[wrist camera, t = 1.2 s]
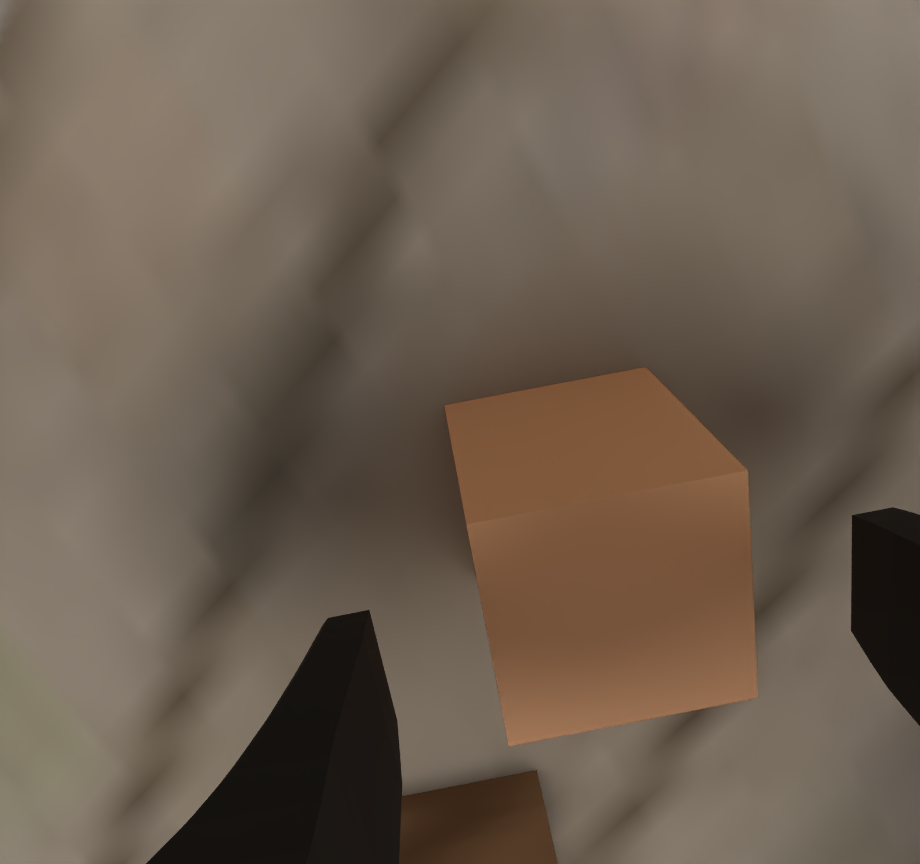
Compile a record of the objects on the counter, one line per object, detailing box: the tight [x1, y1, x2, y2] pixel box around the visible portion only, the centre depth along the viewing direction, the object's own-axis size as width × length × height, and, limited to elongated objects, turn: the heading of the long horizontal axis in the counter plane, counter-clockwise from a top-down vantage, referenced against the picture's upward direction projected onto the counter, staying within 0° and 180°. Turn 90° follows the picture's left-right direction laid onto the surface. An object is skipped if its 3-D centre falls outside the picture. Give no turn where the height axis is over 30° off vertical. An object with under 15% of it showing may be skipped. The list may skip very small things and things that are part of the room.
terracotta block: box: [444, 367, 758, 746], centre depth 15 cm, size 4×4×5 cm
